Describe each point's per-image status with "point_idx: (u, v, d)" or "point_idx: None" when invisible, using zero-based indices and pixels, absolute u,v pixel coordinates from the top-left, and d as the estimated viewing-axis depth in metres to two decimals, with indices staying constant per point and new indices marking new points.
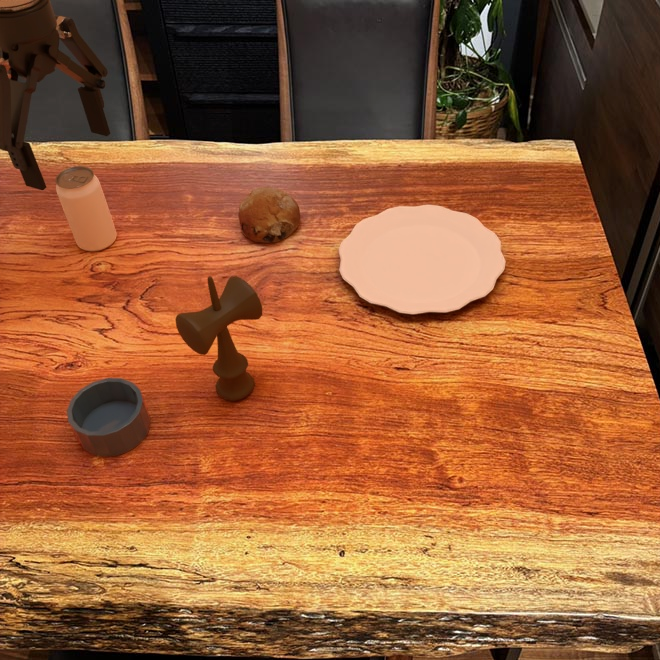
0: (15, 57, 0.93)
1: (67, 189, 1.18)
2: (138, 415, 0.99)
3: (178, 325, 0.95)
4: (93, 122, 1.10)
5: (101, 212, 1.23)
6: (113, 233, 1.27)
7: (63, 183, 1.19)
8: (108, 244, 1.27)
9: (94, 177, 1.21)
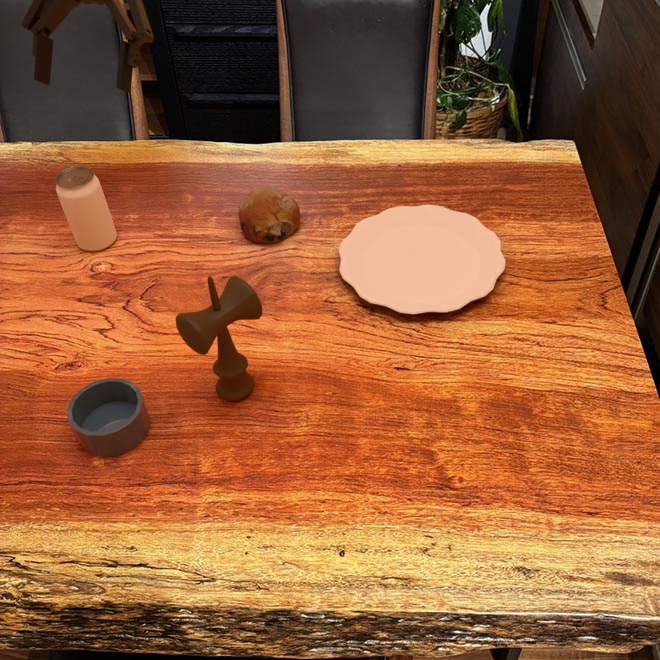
0: None
1: (67, 189, 1.18)
2: (138, 415, 0.99)
3: (178, 325, 0.95)
4: (43, 69, 1.19)
5: (101, 212, 1.23)
6: (113, 233, 1.27)
7: (63, 183, 1.19)
8: (108, 244, 1.27)
9: (94, 177, 1.21)
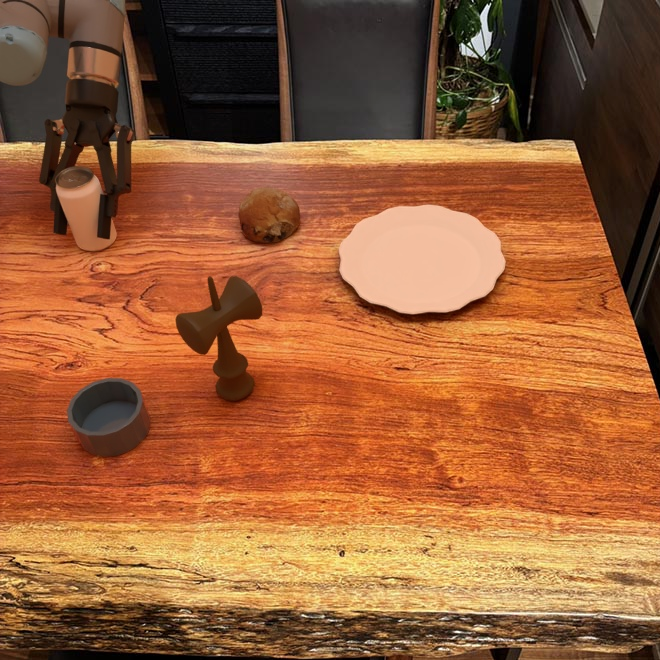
0: None
1: (67, 189, 1.18)
2: (138, 415, 0.99)
3: (178, 325, 0.95)
4: (61, 222, 1.24)
5: None
6: (113, 233, 1.27)
7: (63, 183, 1.19)
8: (108, 244, 1.27)
9: (94, 177, 1.21)
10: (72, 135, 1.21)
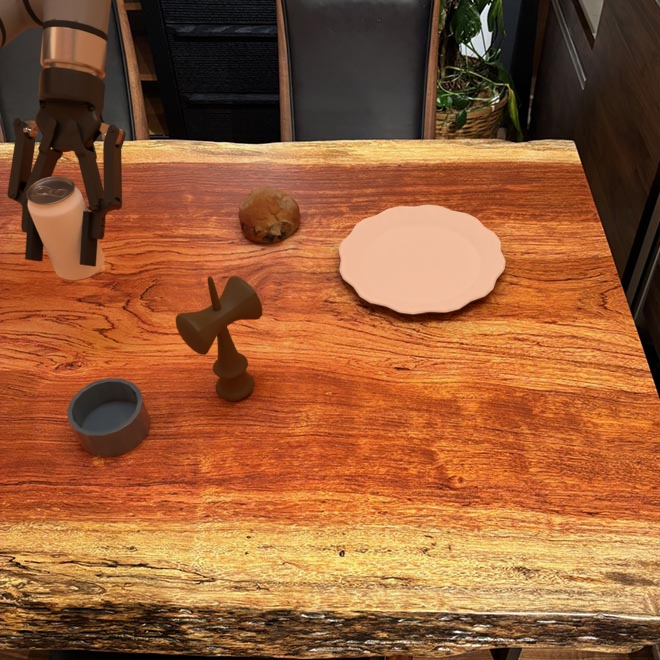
0: None
1: (41, 205, 0.95)
2: (138, 415, 0.99)
3: (178, 325, 0.95)
4: (35, 246, 1.00)
5: None
6: (100, 258, 1.03)
7: (36, 197, 0.96)
8: (94, 271, 1.03)
9: (75, 190, 0.97)
10: (47, 138, 0.97)
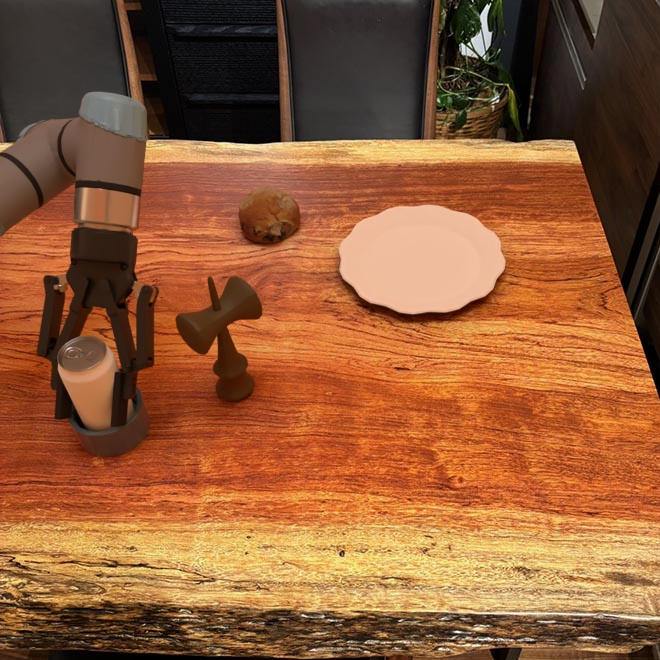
0: None
1: (72, 372, 0.91)
2: (138, 415, 0.99)
3: (178, 325, 0.95)
4: (65, 404, 0.97)
5: None
6: (130, 411, 1.00)
7: (67, 362, 0.93)
8: None
9: (107, 352, 0.94)
10: (79, 297, 0.94)
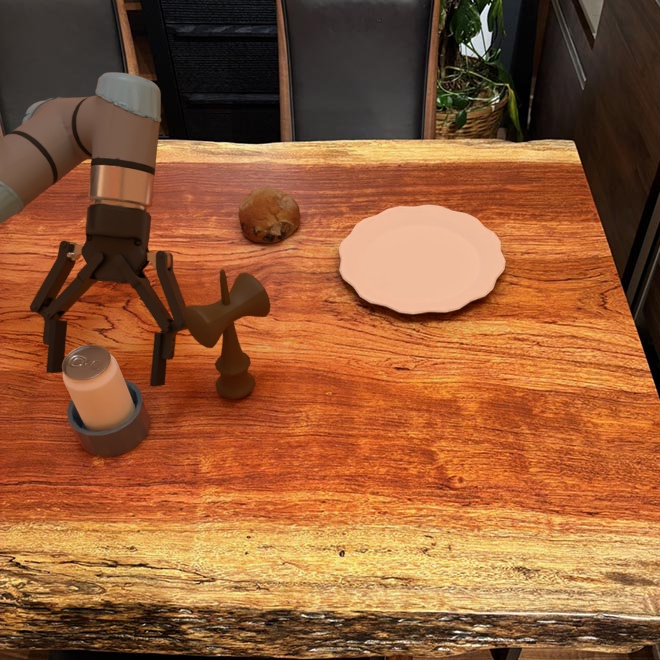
0: None
1: (76, 380, 0.93)
2: (138, 415, 0.99)
3: (186, 317, 0.95)
4: (57, 359, 1.00)
5: (119, 401, 0.97)
6: None
7: (71, 370, 0.94)
8: None
9: (111, 361, 0.95)
10: (89, 268, 0.97)
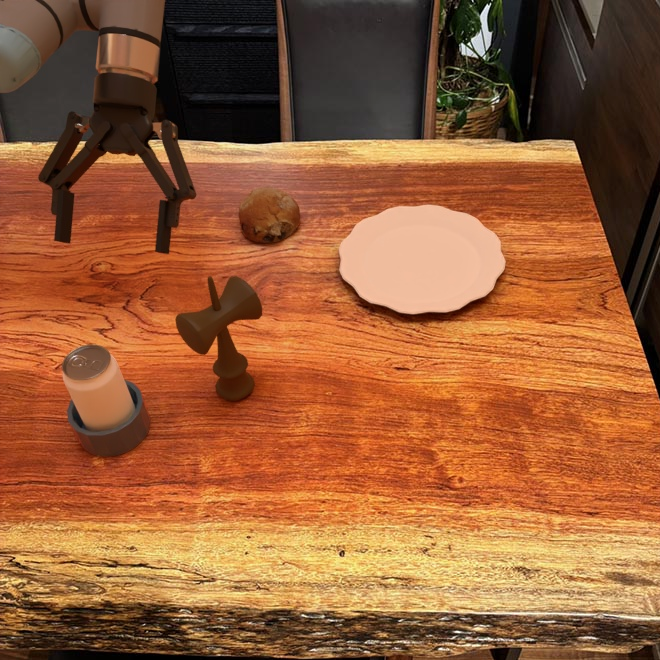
0: None
1: (76, 380, 0.93)
2: (138, 415, 0.99)
3: (178, 325, 0.95)
4: (64, 228, 1.03)
5: (119, 401, 0.97)
6: None
7: (71, 370, 0.94)
8: None
9: (111, 361, 0.95)
10: (96, 138, 1.01)
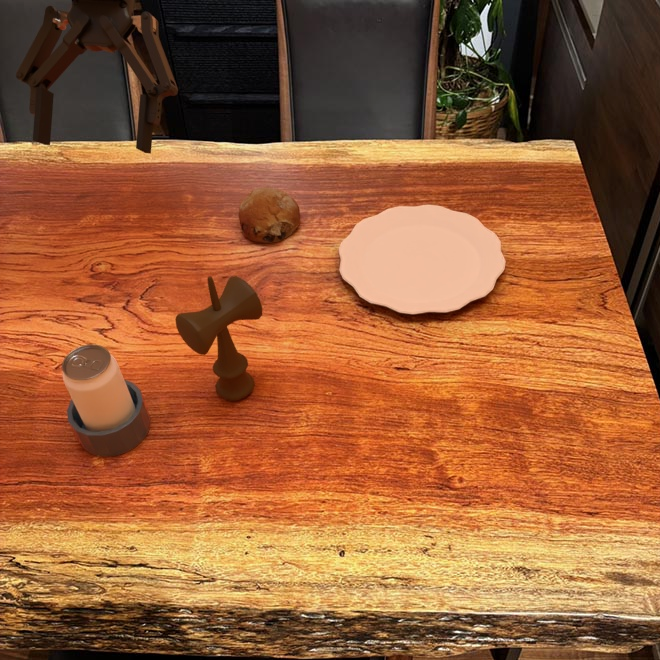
0: None
1: (76, 380, 0.93)
2: (138, 415, 0.99)
3: (178, 325, 0.95)
4: (43, 128, 1.01)
5: (119, 401, 0.97)
6: None
7: (71, 370, 0.94)
8: None
9: (111, 361, 0.95)
10: (75, 32, 0.98)
